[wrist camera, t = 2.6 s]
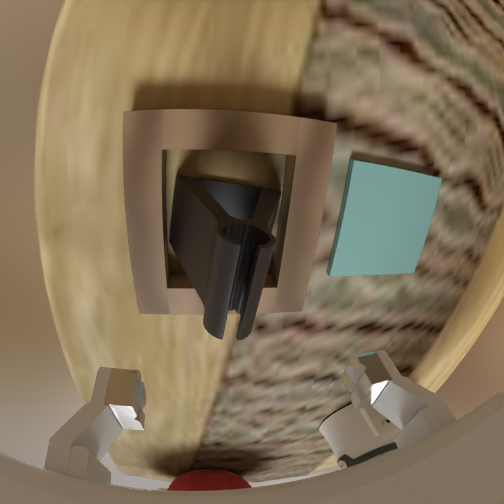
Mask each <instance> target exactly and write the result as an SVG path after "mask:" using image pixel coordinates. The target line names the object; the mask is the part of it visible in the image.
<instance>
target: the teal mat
mask: <svg viewBox="0 0 504 504" xmlns="http://www.w3.org/2000/svg"><path fill="white" fill-rule="evenodd" d="M441 181H442V179H441V178H439V177H436V176H432V175H428V174H424V173H420V172H416V171H411V170H407V169H402V168H398V167H393V166H388V165H383V164H378V163H372V162H367V161H361V160H355V159H350V162H349V168H348V174H347V179H346V185H345V190H344V196H343V201H342V206H341V211H340V216H339V221H338V225H337V230H336V235H335V239H334V244H333V248H332V252H331V257H330V261H329V265H328V269H327V273H328V275H329V276H358V275H383V274H405V273H414V271H415V268H416V266H417V263H418V260H419V257H420V254H421V252H422V249H423V246H424V243H425V239H426V236H427V233H428V230H429V227H430V223H431V220H432V216H433V213H434V209H435V205H436V202H437V198H438V194H439V190H440V186H441Z"/></svg>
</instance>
